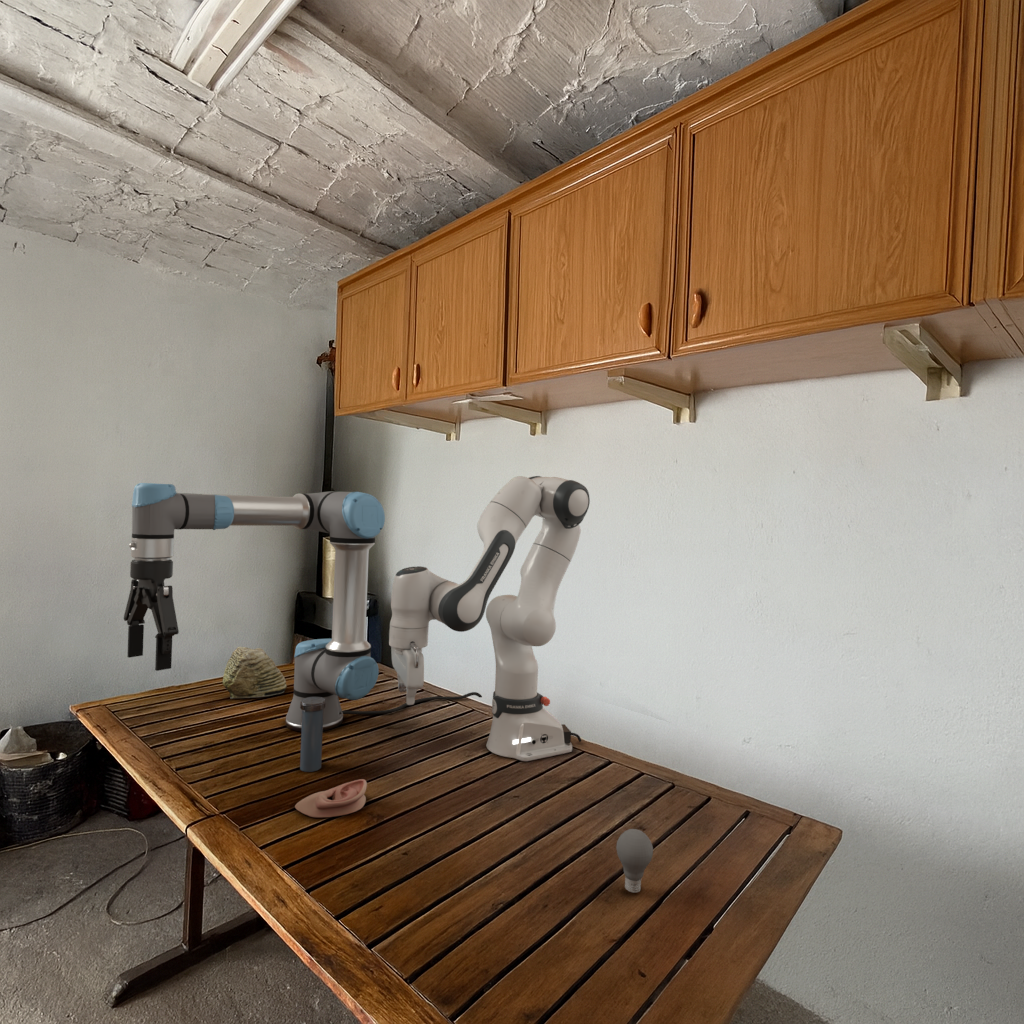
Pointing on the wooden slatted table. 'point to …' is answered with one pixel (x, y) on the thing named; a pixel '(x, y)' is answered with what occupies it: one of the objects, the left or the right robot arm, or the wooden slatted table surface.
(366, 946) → the wooden slatted table surface
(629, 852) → the light bulb
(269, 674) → the fossil
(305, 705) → the lid
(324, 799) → the anatomical model
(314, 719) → the jar
